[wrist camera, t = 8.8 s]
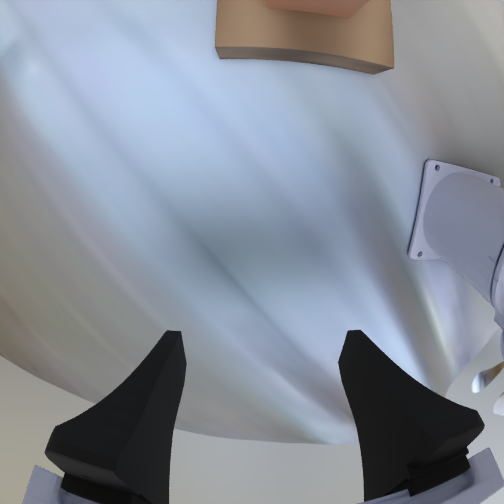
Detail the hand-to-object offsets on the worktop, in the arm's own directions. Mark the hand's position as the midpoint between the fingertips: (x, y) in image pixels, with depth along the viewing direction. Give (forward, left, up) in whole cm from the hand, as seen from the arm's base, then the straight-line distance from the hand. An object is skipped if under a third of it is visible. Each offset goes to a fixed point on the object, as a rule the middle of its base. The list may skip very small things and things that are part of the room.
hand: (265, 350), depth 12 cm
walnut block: (-2, -18, -10) cm, 21 cm away
